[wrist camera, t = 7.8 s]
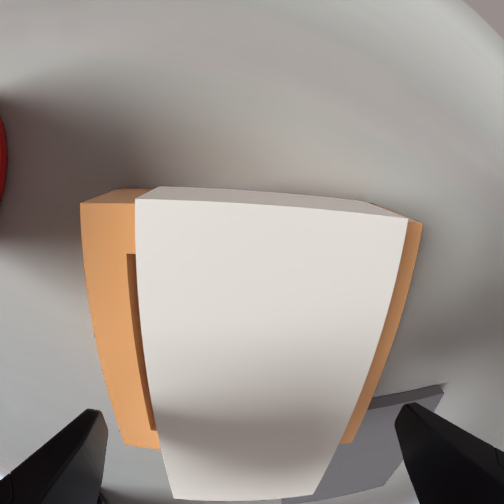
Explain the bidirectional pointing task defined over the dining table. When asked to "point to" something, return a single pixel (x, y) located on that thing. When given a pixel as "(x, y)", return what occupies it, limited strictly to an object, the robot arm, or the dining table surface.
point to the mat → (369, 448)
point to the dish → (128, 316)
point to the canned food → (2, 158)
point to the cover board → (258, 331)
